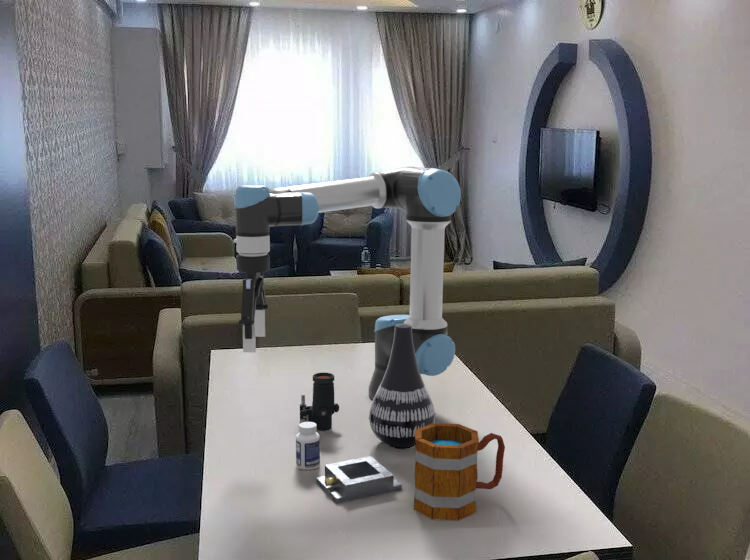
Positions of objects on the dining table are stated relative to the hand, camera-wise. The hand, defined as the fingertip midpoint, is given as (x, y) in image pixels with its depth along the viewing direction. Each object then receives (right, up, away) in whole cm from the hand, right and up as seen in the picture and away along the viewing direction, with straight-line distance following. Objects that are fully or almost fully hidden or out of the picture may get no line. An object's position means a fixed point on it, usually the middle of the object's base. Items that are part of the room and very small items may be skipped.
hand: (254, 344), depth 185 cm
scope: (+14, -23, +17) cm, 32 cm away
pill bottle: (+13, -27, -6) cm, 31 cm away
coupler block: (+25, -29, -15) cm, 41 cm away
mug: (+45, -31, -23) cm, 59 cm away
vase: (+34, -25, +7) cm, 43 cm away
